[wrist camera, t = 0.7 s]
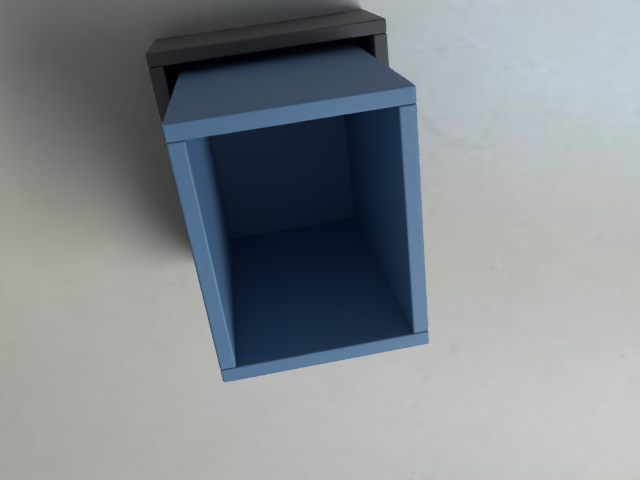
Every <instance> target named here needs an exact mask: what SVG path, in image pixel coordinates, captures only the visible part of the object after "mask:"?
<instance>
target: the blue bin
mask: <svg viewBox="0 0 640 480" xmlns="http://www.w3.org/2000/svg"><path fill="white" fill-rule="evenodd" d="M415 103H416V88H415V85H414V84H412V83H411V82H410V81H408V80H407V79H405V78H404V77H402V76H401V75H399V74H398V73H396V72H395V71H394V70H392V69H391V68H389V67H388V66H386V65H385V64H383V63H382V62H380V61H379V60H378V59H376V58H375V57H373V56H372V55H370V54H369V53H367V52H366V51H364V50H363V49H362V48H360V47H359V46H357V45H356V44H354V43H353V42H351V41H350V40H349V39H340V40H334V41H327V42H320V43H314V44H307V45H300V46H294V47H287V48H280V49H274V50H267V51H260V52H254V53H247V54H240V55H233V56H227V57H220V58H213V59H207V60H200V61H193V62H187V63H183V64H182V67H181V70H180V73H179V76H178V79H177V82H176V85H175V88H174V91H173V94H172V97H171V99H170V102H169V105H168V108H167V111H166V114H165V117H164V120H163V123H162V130H163V135H164V139H165V142H167V144H166V147H167V151H168V155H169V159H170V163H171V167H172V172H173V176H174V180H175V184H176V188H177V192H178V196H179V201H180V205H181V209H182V213H183V217H184V221H185V225H186V229H187V234H188V238H189V242H190V246H191V250H192V254H193V258H194V262H195V267H196V271H197V275H198V279H199V283H200V287H201V291H202V295H203V300H204V304H205V308H206V312H207V316H208V320H209V324H210V328H211V333H212V337H213V341H214V345H215V349H216V353H217V357H218V361H219V366H220V368H221V374H222V378H223V381H224V382H229V381H235V380H240V379H245V378H250V377H256V376H261V375H266V374H271V373H276V372H282V371H287V370H292V369H297V368H303V367H308V366H313V365H318V364H323V363H329V362H334V361H339V360H344V359H350V358H355V357H360V356H365V355H370V354H376V353H381V352H386V351H391V350H397V349H402V348H407V347H412V346H417V345H423V344H428V343H429V337H428V319H427V299H426V280H425V261H424V242H423V222H422V203H421V184H420V164H419V145H418V126H417V107H416V104H415Z"/></svg>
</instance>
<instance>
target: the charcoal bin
mask: <svg viewBox="0 0 640 480" xmlns="http://www.w3.org/2000/svg"><path fill="white" fill-rule="evenodd" d="M385 32H386V20H385V18H382V17H380V16H377V15H375V14H372V13H370V12H368V11H365V10H356V11H349V12H342V13H335V14H329V15H322V16H315V17H308V18H301V19H294V20H287V21H281V22H274V23H267V24H260V25H253V26H246V27H240V28H233V29H226V30H219V31H212V32H205V33H198V34H192V35H185V36H178V37H171V38H164V39H157V40H155V42H154V43H153V45H152V46H151V47H150V49H149V50H148V52H147V53H146V59H147V63H148V67H149V72H150V76H151V80H152V84H153V89H154V93H155V97H156V101H157V105H158V109H159V113H160V118H161V122H162V123H163V120H164V117H165V114H166V111H167V108H168V105H169V102H170V99H171V97H172V94H173V91H174V88H175V85H176V82H177V79H178V76H179V73H180V70H181V67H182V64H183V63H187V62H193V61H200V60H207V59H213V58H220V57H227V56H233V55H240V54H247V53H254V52H260V51H267V50H274V49H280V48H287V47H294V46H300V45H307V44H314V43H320V42H327V41H334V40H340V39H349V40H350V41H351V42H353V43H354V44H356V45H357V46H359V47H360V48H362V49H363V50H364V51H366V52H367V53H369V54H370V55H372V56H373V57H375V58H376V59H378V60H379V61H380V62H382V63H383V64H385V65H386V66H388V67H389V61H388V47H387V34H386V33H385Z"/></svg>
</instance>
